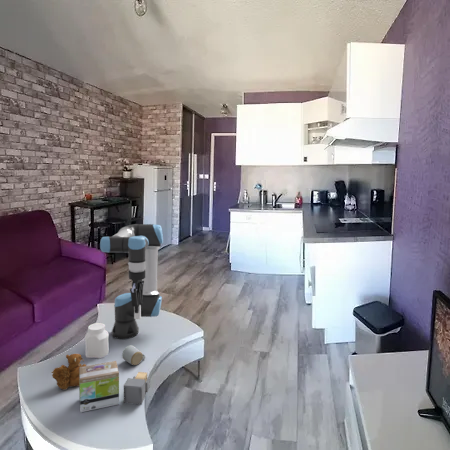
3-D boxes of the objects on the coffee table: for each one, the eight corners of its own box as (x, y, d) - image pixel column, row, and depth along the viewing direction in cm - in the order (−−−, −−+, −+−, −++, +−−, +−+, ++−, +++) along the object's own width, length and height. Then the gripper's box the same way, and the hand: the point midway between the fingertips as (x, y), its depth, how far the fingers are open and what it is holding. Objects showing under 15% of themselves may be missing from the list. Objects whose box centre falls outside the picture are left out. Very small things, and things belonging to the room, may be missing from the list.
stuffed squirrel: (91, 381, 159) (90, 354, 157) (61, 396, 148) (59, 367, 146) (79, 373, 165) (78, 347, 163) (49, 387, 154) (48, 359, 152)
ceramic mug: (131, 368, 170) (131, 353, 169) (121, 362, 175) (121, 348, 174) (149, 360, 178) (149, 346, 177) (139, 354, 183) (139, 340, 182)
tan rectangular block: (138, 384, 158) (138, 371, 157) (147, 384, 158) (147, 372, 157) (129, 401, 146) (129, 388, 145) (138, 402, 146) (138, 388, 145)
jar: (82, 357, 178) (81, 330, 176) (90, 348, 187) (89, 321, 185) (104, 358, 178) (104, 331, 175) (111, 349, 187) (110, 322, 185)
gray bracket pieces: (133, 385, 157) (133, 368, 155) (150, 386, 156) (150, 370, 155) (123, 402, 145) (123, 385, 144) (141, 404, 144) (141, 386, 143)
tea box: (80, 414, 138) (78, 379, 135) (79, 398, 147) (78, 366, 144) (119, 405, 144) (119, 371, 141) (116, 390, 153) (116, 359, 150)
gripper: (134, 265, 168) (134, 312, 171) (123, 273, 155) (124, 323, 158) (149, 266, 167) (149, 313, 171) (140, 274, 154) (140, 324, 158)
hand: (137, 318), depth 164 cm, fingers closed
